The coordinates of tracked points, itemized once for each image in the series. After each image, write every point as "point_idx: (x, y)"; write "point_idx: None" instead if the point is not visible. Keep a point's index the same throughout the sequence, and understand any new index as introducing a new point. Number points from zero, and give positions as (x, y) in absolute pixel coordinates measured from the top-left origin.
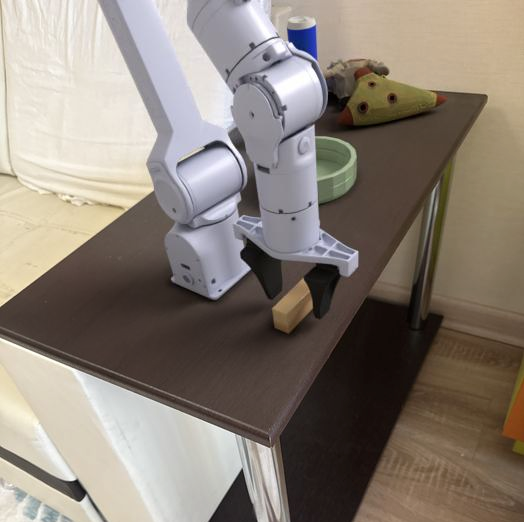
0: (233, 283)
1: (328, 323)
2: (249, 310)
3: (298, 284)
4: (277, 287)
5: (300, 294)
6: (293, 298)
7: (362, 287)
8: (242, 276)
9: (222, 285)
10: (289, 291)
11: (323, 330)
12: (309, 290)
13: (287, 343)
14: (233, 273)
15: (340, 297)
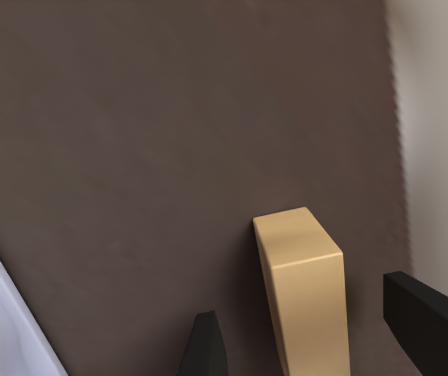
0: (45, 346)
1: (383, 261)
2: (176, 357)
3: (289, 325)
4: (219, 350)
5: (331, 348)
6: (325, 372)
7: (389, 65)
8: (27, 309)
9: (34, 373)
10: (287, 361)
11: None
12: (345, 318)
13: None
14: (8, 350)
15: (350, 161)
